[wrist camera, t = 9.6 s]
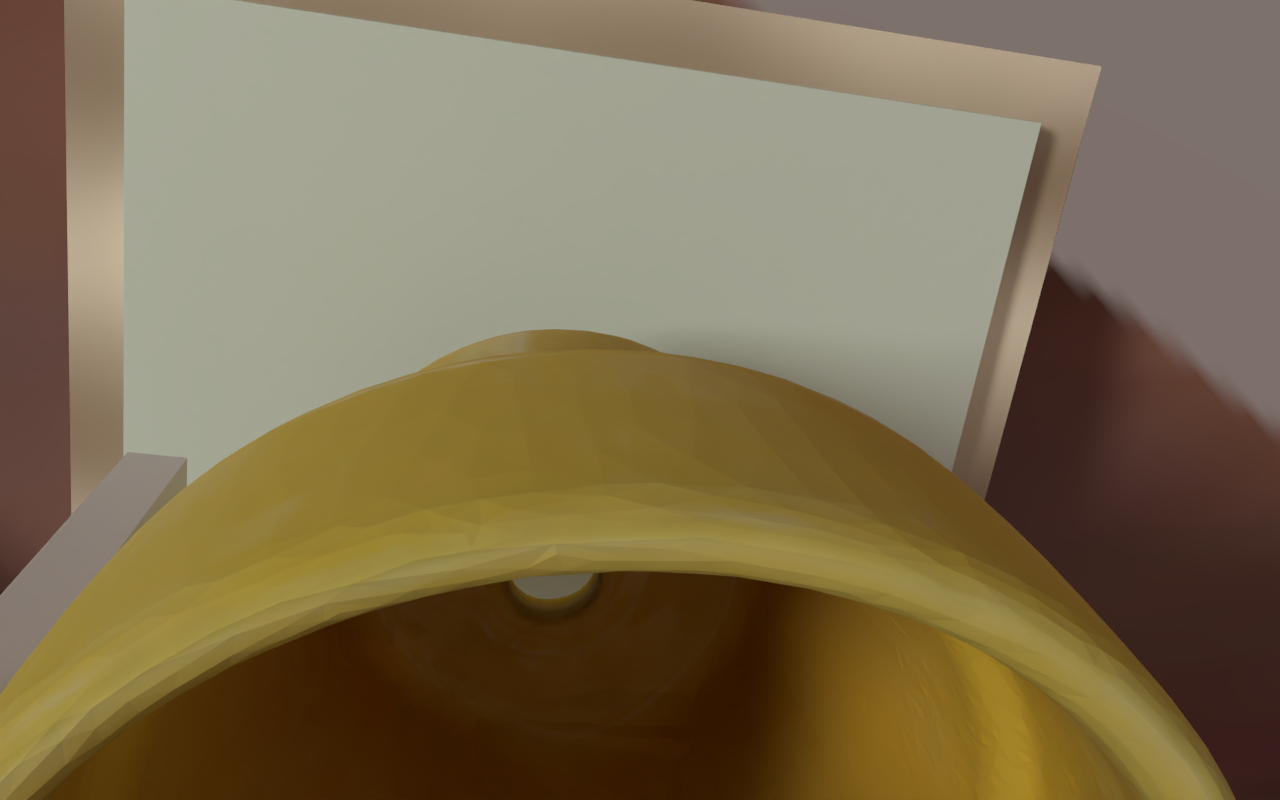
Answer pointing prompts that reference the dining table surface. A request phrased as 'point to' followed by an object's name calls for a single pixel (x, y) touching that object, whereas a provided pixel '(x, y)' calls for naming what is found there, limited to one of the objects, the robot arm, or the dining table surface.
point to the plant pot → (587, 611)
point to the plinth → (544, 207)
